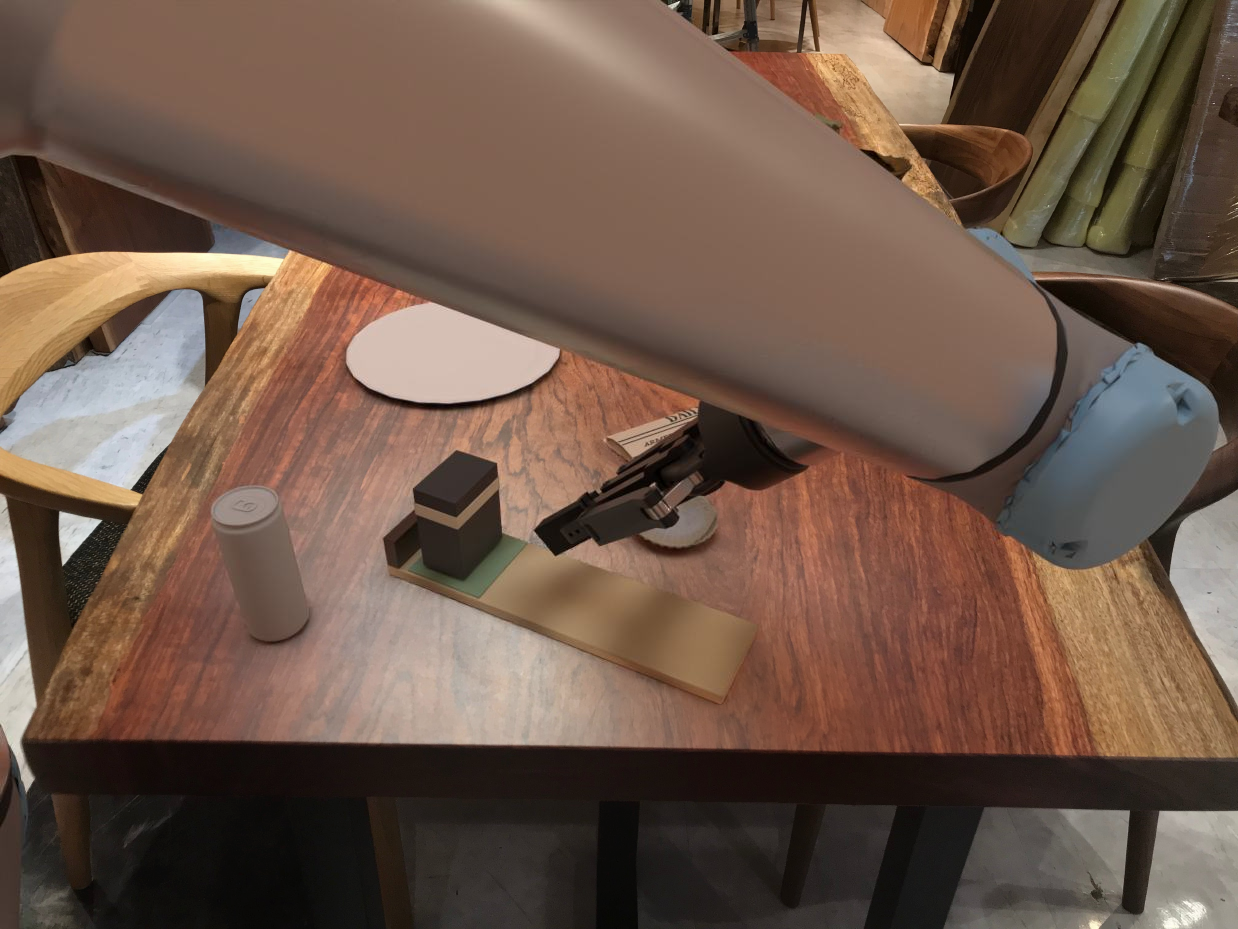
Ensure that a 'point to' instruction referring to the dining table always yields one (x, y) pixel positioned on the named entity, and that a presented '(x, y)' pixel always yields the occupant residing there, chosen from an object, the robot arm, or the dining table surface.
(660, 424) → the newspaper
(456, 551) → the dark grey lidded box
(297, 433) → the dining table surface
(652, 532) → the seashell
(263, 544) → the beverage can
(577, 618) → the rail
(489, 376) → the plate
